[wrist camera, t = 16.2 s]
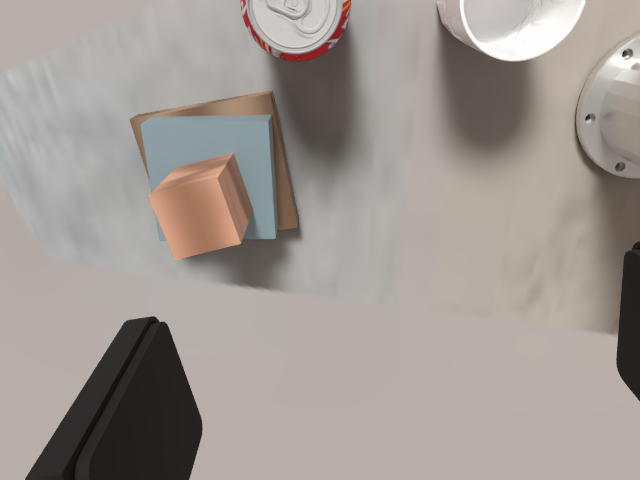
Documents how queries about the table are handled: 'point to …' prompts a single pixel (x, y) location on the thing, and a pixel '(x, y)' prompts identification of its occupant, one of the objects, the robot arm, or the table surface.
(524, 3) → the white cup
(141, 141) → the base block
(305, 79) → the table surface
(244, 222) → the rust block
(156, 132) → the top block
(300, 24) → the soda can
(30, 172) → the table surface
